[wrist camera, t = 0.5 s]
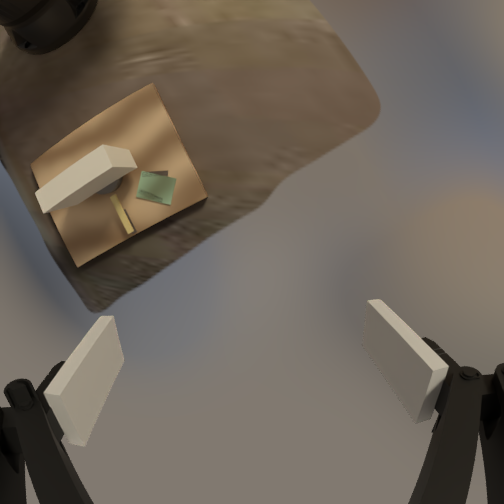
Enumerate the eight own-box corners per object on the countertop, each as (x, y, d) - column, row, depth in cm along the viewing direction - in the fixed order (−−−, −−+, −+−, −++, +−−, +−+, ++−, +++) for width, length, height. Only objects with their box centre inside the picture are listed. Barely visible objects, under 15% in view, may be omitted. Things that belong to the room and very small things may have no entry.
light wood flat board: (35, 164, 36) (29, 164, 34) (154, 85, 35) (151, 82, 33) (81, 264, 40) (76, 267, 38) (208, 196, 39) (207, 197, 37)
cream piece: (74, 181, 35) (32, 186, 26) (131, 145, 35) (99, 137, 25) (105, 246, 38) (71, 269, 28) (164, 214, 37) (142, 228, 28)
